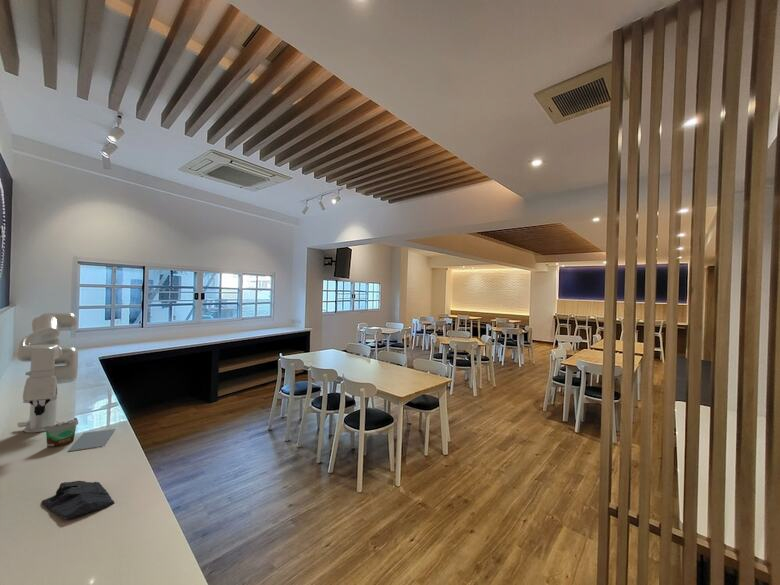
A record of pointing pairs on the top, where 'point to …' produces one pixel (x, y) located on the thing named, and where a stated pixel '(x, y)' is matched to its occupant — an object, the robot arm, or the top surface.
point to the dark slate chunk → (78, 499)
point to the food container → (61, 433)
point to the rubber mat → (92, 440)
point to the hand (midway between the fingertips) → (39, 414)
